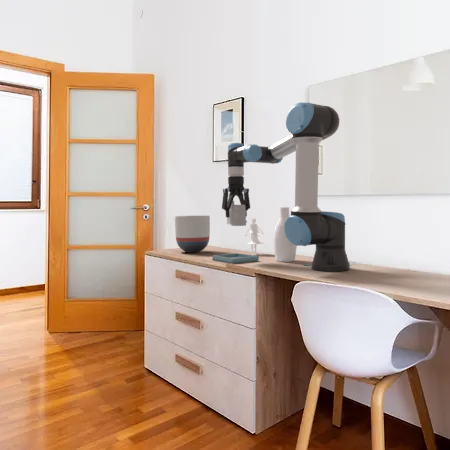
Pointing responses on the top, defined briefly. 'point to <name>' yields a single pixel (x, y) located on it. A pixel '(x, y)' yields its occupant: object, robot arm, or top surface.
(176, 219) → the planter
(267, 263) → the top surface
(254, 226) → the figurine
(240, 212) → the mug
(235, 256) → the tray
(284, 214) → the bottle
